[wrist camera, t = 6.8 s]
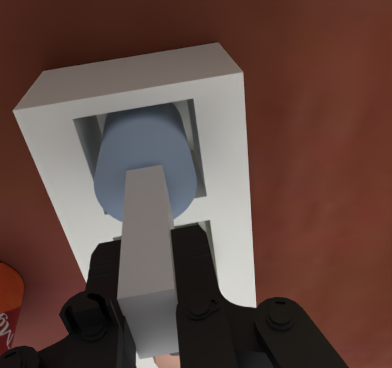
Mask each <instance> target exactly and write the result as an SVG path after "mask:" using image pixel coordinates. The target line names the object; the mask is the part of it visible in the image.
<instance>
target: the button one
mask: <svg viewBox="0 0 392 368" xmlns="http://www.w3.org/2000/svg"><path fill="white" fill-rule="evenodd" d="M157 165H163V170H164V174H165V179H166V184H167V189H168V194H169V199H170V204H171V209H172V213H173V220H174V219H175V218H177V217H178V216H180V215H181V214H182V213H183V212H184V211H185V210H186V209H187V208H188V207H189V206H190V204H191V203H192V201H193V199H194V197H195V194H196V190H197V177H196V172H195V168H194V164H193V160H192V156H191V152H190V148H189V145H188V141H187V137H186V133H185V129H184V125H183V121H182V117H181V115H180V112H179V111H178V109H177V108H176V106H175V105H174V104H173V103H172V102H169V103H163V104H158V105H152V106H146V107H140V108H134V109H128V110H122V111H116V112H110V113H108V114H107V116H106V120H105V125H104V130H103V135H102V140H101V146H100V151H99V156H98V161H97V166H96V172H95V177H94V191H95V195H96V198H97V200H98V202H99V204H100V205H101V207H102V208H103V209H104V210H105V211H106V212H107V213H108V214H109V215H110V216H112V217H113V218H115V219H117V220H118V221H120V222H123V209H124V195H125V181H126V171H128V170H134V169H140V168H145V167H151V166H157Z"/></svg>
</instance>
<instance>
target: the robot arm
mask: <svg viewBox="0 0 392 368" xmlns="http://www.w3.org/2000/svg"><path fill="white" fill-rule="evenodd" d="M89 268H90V269H89V271H88V279H87V283H86V289H85V291H83V292H80V293H78V294H76V295H75V296H73V297H72V298H70V299H69V300H68V301H67V302H66V303H65V304H64V306H63V307H62V309H61V312H60V314H59V316H60V317H61V319H62V321H63V323H64V325H65V327H66V329H67V331H68V333H69V335H68V336H66V337H65V338H64V339H62V340H60V341H59V342H57V343H55V344H53V345H51V346H49V347H47V348H45V349H43V350H41V351H38V352H37V351H36V350H35V349H34V348H32V347H29V346H20V347H15V348H13V349H10V350H8V351H6V352H5V353H3V354H2V355H1V356H0V368H137V367H136V352H137V354H138V357H139V359H144V358H150V357H155V356H160V355H165V354H170V353H176V352H179V358H180V368H349V367H348V366H347V365H346V363H345V362H344V361H343V360H342V358H341V357H340V356H339V354H338V353H337V352H336V351H335V349H334V348H333V347H332V345H331V344H330V343H329V342H328V340H327V339H326V338H325V336H324V335H323V334H322V333H321V331H320V330H319V329H318V327H317V326H316V325H315V324H314V322H313V321H312V320H311V318H310V317H309V316H308V315H307V313H306V312H305V311H304V310H303V308H302V307H300V306H299V305H298V304H297V303H296V302H294V301H292V300H290V299H287V298H281V297H274V298H269V299H266V300H265V301H263V302H262V303H260V304H259V305H258V307H257V308H254V307H245V306H240V305H236V304H234V303H231V302H230V301H228V300H227V299H226V298H225V297H224V296H223V295H222V294H221V292H220V289H219V286H218V281H217V277H216V273H215V268H214V264H213V260H212V255H211V251H210V246H209V242H208V238H207V233H206V232H205V231H204V230H203V229H202V228H201V227H200V226H199V225H193V226H188V227H182V228H176V229H175V228H174V220H173V213H172V209H171V204H170V199H169V194H168V189H167V184H166V179H165V174H164V170H163V165H157V166H151V167H145V168H140V169H134V170H128V171H126V181H125V195H124V209H123V223H122V237H121V239H120V240H115V241H109V242H104V243H99V244H98V245H97V247H96V248H95V250H94V251H93V253H92V254H91V259H90V265H89Z"/></svg>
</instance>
